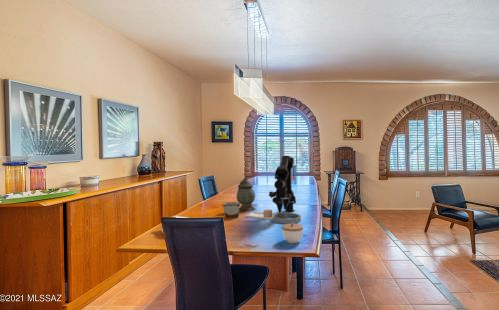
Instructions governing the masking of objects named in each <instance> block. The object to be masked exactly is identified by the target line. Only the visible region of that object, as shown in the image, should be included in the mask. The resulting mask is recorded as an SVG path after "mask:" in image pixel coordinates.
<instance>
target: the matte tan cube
mask: <svg viewBox="0 0 499 310" xmlns="http://www.w3.org/2000/svg"><path fill="white" fill-rule="evenodd" d="M272 213H273V209H263V215H264V217H268V218H270V217H272Z"/></svg>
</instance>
